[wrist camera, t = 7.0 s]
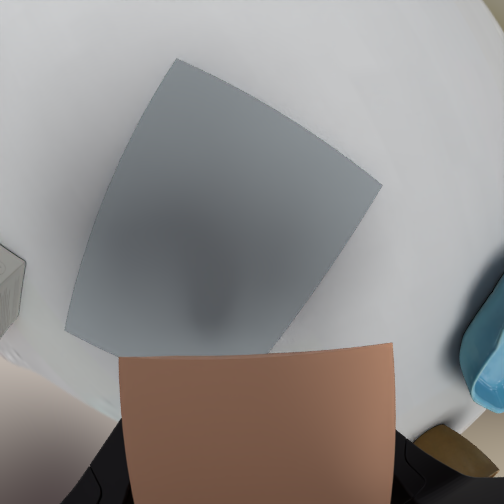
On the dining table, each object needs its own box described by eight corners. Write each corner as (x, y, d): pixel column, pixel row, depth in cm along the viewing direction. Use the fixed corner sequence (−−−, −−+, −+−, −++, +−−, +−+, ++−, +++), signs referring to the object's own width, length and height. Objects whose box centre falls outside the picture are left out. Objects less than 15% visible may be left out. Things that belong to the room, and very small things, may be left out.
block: (274, 439, 14) (384, 540, 3) (181, 443, 13) (154, 574, 3) (270, 353, 15) (392, 342, 5) (176, 355, 15) (118, 357, 4)
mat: (230, 393, 25) (231, 398, 25) (67, 326, 21) (64, 330, 20) (378, 183, 20) (382, 185, 19) (177, 60, 15) (176, 58, 15)
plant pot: (467, 396, 35) (512, 458, 20) (450, 434, 41) (483, 486, 26) (395, 438, 35) (433, 514, 20) (388, 468, 41) (416, 528, 26)
